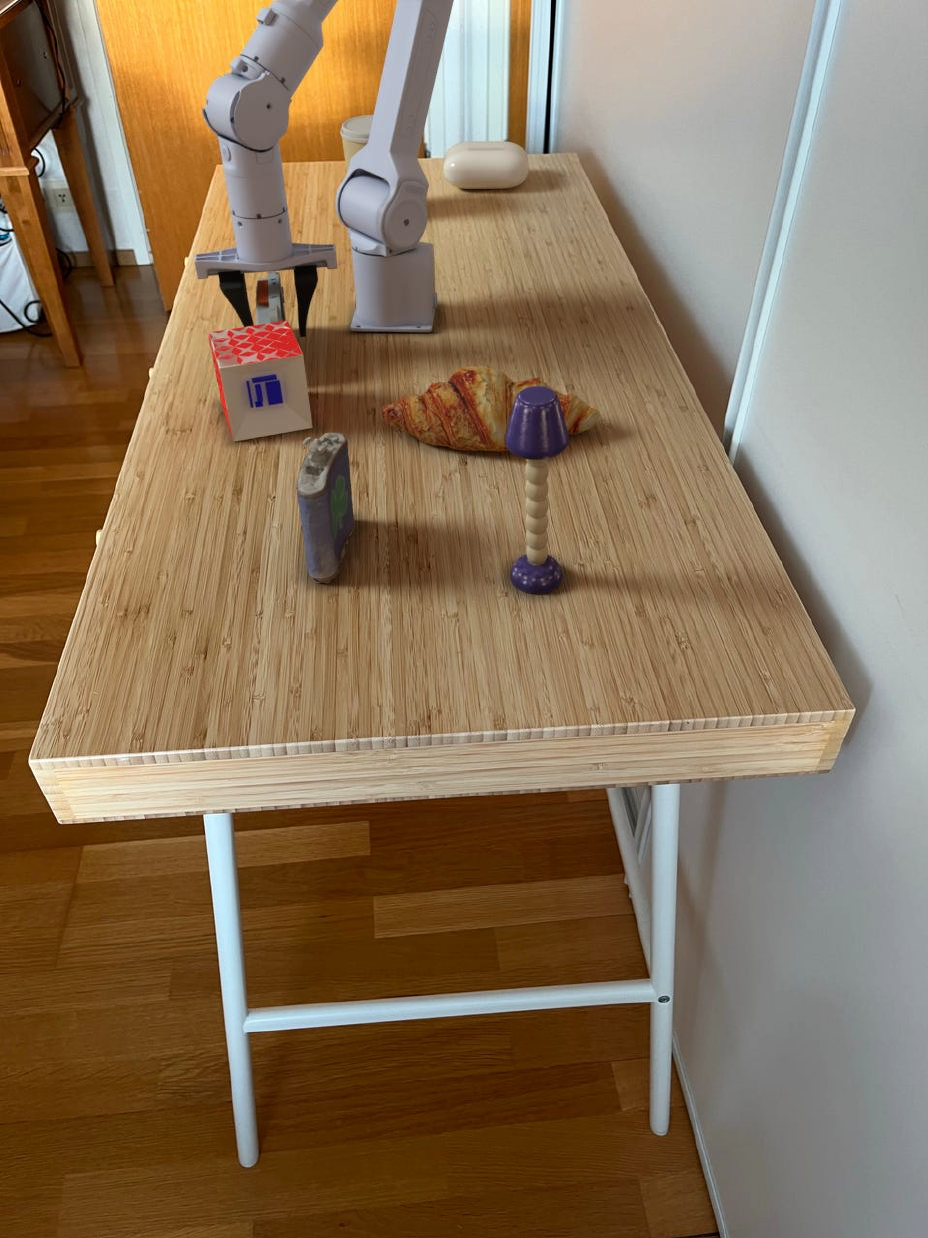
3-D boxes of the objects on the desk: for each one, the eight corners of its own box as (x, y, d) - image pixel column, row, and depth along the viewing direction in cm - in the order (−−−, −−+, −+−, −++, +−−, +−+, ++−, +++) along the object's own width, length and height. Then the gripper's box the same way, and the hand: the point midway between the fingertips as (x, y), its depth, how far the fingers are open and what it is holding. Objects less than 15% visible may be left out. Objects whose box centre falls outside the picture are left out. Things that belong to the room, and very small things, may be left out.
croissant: (590, 445, 102) (592, 366, 100) (607, 453, 92) (610, 364, 90) (385, 447, 101) (383, 366, 99) (379, 454, 92) (377, 365, 90)
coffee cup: (410, 224, 140) (405, 133, 132) (344, 224, 140) (336, 133, 132) (413, 201, 147) (409, 113, 139) (350, 201, 147) (343, 113, 139)
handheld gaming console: (293, 386, 105) (283, 314, 100) (265, 388, 105) (253, 317, 99) (289, 327, 116) (280, 259, 110) (264, 329, 115) (253, 261, 110)
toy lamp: (518, 601, 78) (523, 416, 67) (493, 568, 82) (495, 386, 71) (571, 585, 80) (585, 401, 69) (545, 553, 83) (554, 372, 72)
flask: (334, 585, 80) (319, 474, 73) (299, 583, 81) (281, 471, 73) (359, 519, 87) (348, 411, 80) (327, 517, 87) (313, 409, 80)
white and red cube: (297, 391, 104) (287, 320, 99) (312, 427, 99) (303, 354, 93) (221, 404, 102) (207, 332, 97) (232, 442, 97) (218, 368, 92)
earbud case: (444, 172, 157) (443, 136, 153) (526, 172, 156) (527, 135, 153) (442, 194, 149) (441, 156, 145) (529, 194, 149) (530, 156, 145)
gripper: (328, 190, 103) (340, 314, 112) (187, 200, 102) (211, 324, 111) (333, 214, 98) (345, 342, 107) (184, 224, 97) (209, 353, 106)
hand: (277, 335), depth 109 cm, fingers open, 5 cm apart
